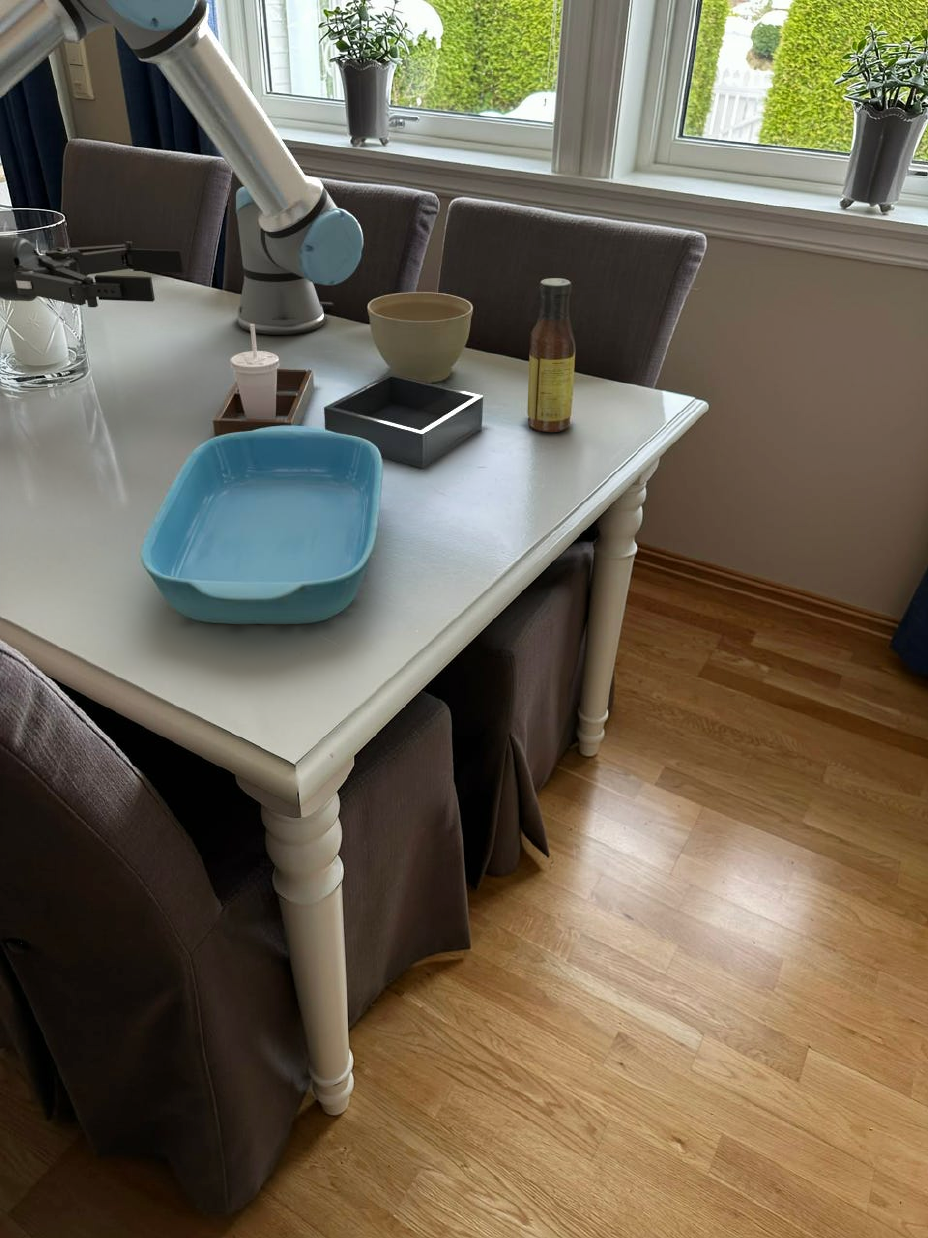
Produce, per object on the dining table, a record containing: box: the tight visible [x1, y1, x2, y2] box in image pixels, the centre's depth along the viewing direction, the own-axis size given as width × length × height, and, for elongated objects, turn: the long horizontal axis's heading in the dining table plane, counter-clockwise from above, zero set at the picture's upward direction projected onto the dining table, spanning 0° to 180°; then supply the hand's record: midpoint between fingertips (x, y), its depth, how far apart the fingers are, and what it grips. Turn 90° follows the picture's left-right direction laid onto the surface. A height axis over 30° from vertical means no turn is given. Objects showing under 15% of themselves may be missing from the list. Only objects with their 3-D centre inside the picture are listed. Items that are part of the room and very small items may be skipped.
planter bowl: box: [367, 291, 474, 384], centre depth 141 cm, size 16×16×11 cm
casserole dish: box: [140, 425, 384, 625], centre depth 96 cm, size 37×22×7 cm, turn 2°
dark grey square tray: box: [323, 372, 484, 470], centre depth 123 cm, size 16×16×5 cm
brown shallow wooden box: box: [212, 368, 315, 437], centre depth 128 cm, size 20×10×3 cm, turn 0°
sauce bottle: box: [526, 277, 576, 433], centre depth 123 cm, size 7×6×20 cm
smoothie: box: [229, 324, 280, 420], centre depth 121 cm, size 6×6×14 cm
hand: (168, 274), depth 114 cm, fingers open, 13 cm apart
